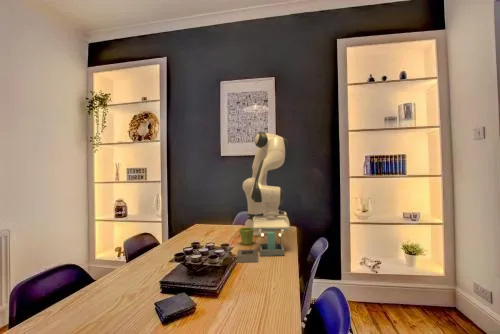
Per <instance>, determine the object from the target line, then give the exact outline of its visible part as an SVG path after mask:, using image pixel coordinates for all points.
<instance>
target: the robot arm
mask: <svg viewBox="0 0 500 334" xmlns="http://www.w3.org/2000/svg"><path fill="white" fill-rule="evenodd" d="M254 145H255V146H256V147H257V150H256V152H255V156H254V159H253V162H252V166H251V168H252V175H251V176H252V177H248V178H247V179H245V180H244V181H243V182H242V190H243V192H244V194H245V197H246V201H247V216H246V217H247V220H246V221H245V223H244V225H245V227H244V228H253V230H254V232H253V237H255V236H258V237H259V236H260V239H265V237H264V235H267V231H275V232H280V233H278V239H282V238H283V237H282V236H283V235H284V232H289V231H290V230H291V224H290V220H289V217H288V213H287V212H286V211H284V210H281V209H279V207H280V206H281V205H282V204H283V203H284V198H285V197H284V196H285V195H284V190H283V188H281V186H273V185H268V184H267V176H268V171H272V170H276V169H279V168H280V167H282V165H284V163H285V159H286V151H287V149H288V146H289V141H288V139H287V138H285V137H284V136H280V135H278V134H273V133H268V132H265V131H258V133H257V134H256V135H255V138H254Z"/></svg>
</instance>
